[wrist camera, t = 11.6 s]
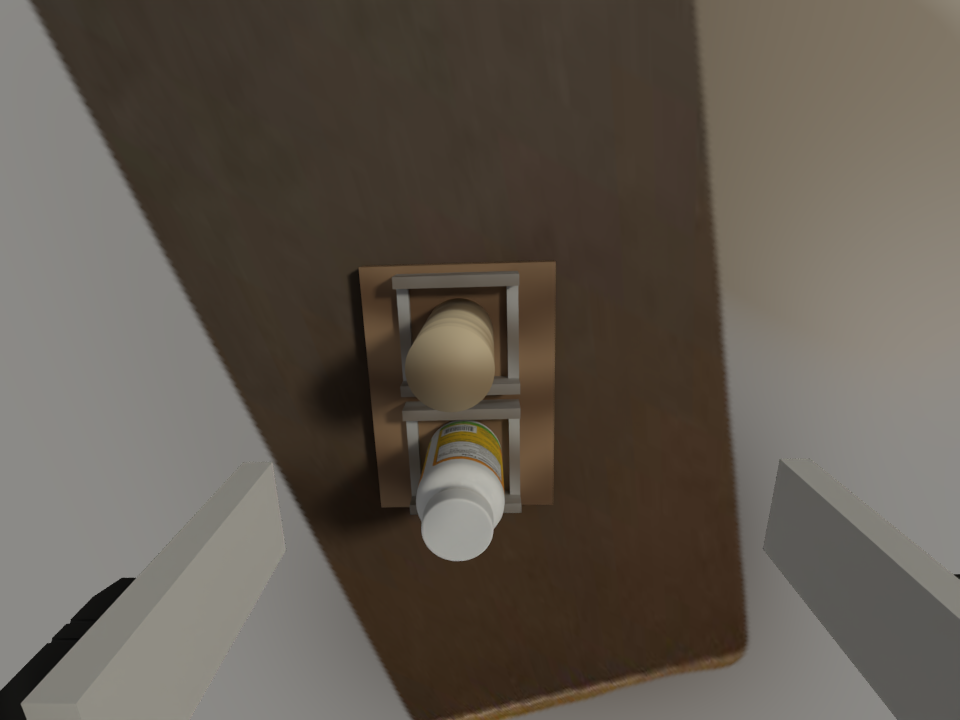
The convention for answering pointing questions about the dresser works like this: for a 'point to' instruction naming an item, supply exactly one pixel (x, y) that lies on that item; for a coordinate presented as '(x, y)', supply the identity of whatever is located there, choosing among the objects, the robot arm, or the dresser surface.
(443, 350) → the beech dowel
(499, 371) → the board
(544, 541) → the dresser surface
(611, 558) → the dresser surface
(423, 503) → the supplement bottle
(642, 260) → the dresser surface
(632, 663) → the dresser surface
